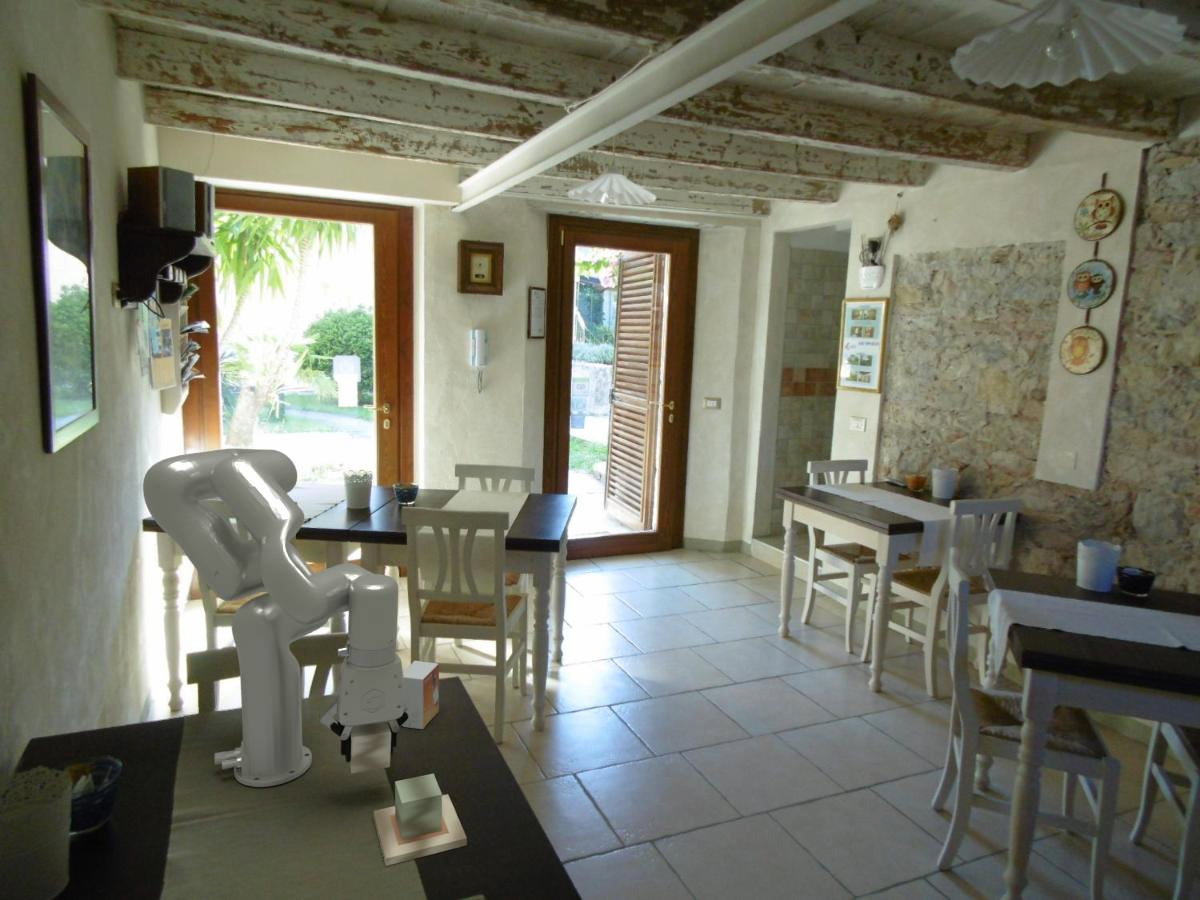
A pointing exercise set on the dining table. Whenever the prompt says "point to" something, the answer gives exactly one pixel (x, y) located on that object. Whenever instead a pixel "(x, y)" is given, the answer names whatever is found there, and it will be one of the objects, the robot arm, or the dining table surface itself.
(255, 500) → the robot arm
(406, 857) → the board
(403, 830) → the sage block
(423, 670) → the small box
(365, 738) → the cream block
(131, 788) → the dining table surface
